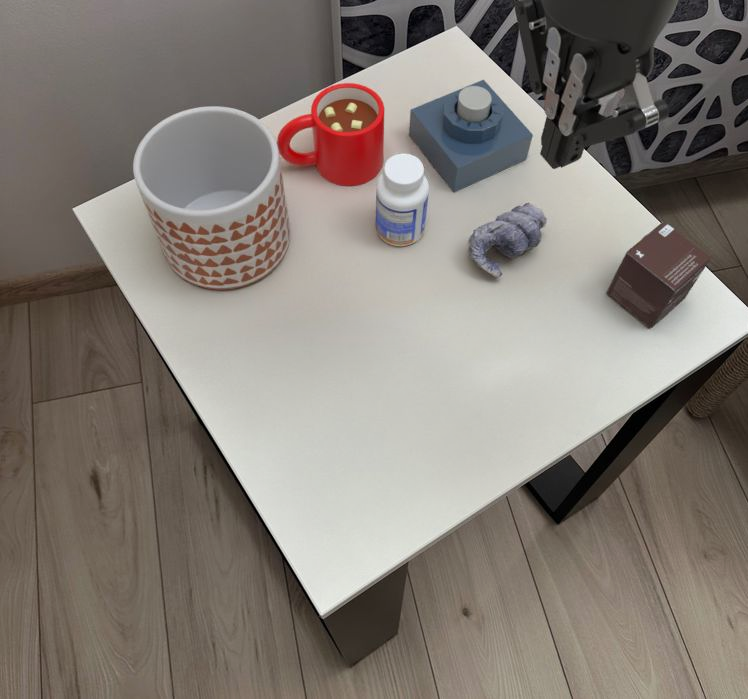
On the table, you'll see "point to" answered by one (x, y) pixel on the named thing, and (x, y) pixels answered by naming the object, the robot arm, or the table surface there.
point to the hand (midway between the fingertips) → (557, 158)
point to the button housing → (468, 139)
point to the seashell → (507, 236)
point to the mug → (341, 134)
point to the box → (657, 274)
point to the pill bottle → (401, 200)
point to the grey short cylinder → (474, 104)
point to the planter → (215, 195)
